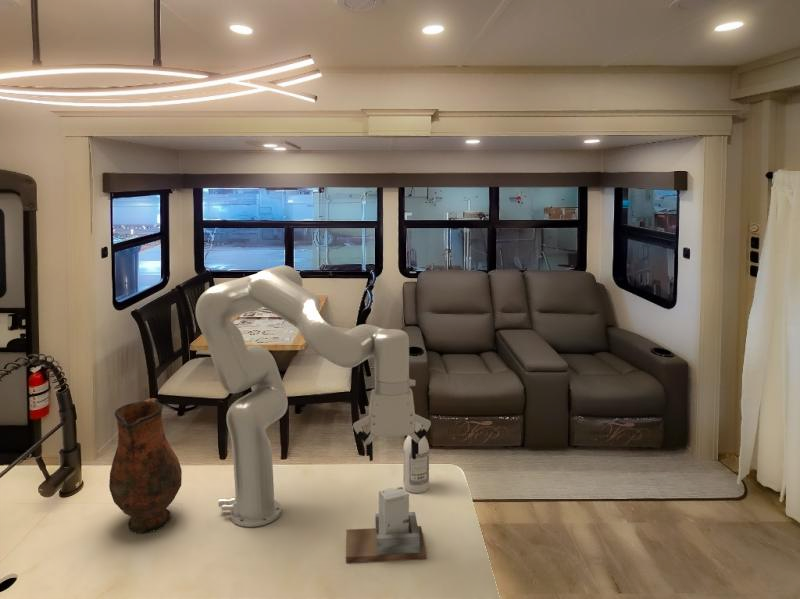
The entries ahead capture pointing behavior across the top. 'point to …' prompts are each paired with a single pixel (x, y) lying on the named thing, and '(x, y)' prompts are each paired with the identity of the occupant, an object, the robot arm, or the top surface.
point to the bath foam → (416, 465)
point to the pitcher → (144, 467)
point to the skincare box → (393, 511)
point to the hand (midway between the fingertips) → (392, 457)
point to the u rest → (385, 544)
